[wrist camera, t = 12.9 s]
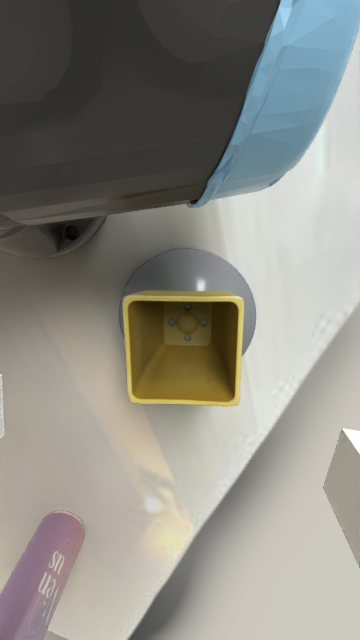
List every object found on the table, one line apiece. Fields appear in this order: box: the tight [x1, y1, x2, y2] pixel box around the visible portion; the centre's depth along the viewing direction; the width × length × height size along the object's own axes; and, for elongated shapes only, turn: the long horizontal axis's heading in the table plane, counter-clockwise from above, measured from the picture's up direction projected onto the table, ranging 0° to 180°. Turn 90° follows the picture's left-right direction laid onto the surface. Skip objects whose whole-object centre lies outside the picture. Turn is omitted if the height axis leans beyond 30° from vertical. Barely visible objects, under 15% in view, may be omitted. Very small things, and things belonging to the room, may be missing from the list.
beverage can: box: [0, 511, 84, 640], centre depth 34 cm, size 6×6×15 cm
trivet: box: [119, 249, 256, 356], centre depth 32 cm, size 14×14×1 cm
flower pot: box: [122, 290, 244, 406], centre depth 27 cm, size 9×9×9 cm
